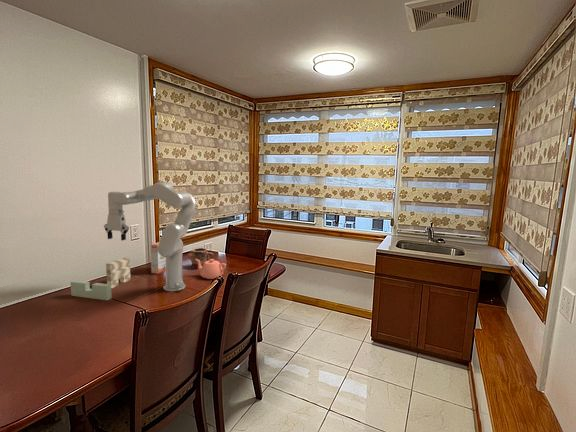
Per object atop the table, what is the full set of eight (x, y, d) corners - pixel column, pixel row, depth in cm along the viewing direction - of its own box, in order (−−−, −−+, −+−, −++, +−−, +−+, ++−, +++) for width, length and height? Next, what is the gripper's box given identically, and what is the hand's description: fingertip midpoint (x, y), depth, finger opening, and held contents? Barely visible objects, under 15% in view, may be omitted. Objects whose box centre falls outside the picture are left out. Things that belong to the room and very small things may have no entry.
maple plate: (126, 279, 199) (125, 257, 197) (130, 279, 198) (129, 257, 196) (107, 287, 183) (105, 264, 181) (111, 288, 183) (110, 264, 181)
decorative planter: (215, 265, 235) (215, 247, 233) (212, 270, 223) (212, 251, 221) (189, 264, 234) (189, 247, 232) (185, 269, 222) (184, 251, 220)
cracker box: (158, 274, 210) (157, 245, 208) (150, 273, 212) (150, 244, 209) (170, 268, 224) (169, 240, 221) (163, 267, 225) (162, 240, 222)
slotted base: (111, 298, 169) (110, 284, 168) (107, 300, 166) (106, 286, 165) (76, 293, 174) (75, 280, 173) (71, 295, 171) (70, 281, 170)
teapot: (190, 278, 203) (190, 261, 202) (200, 272, 218) (200, 255, 216) (222, 281, 200) (222, 263, 199) (229, 274, 215) (229, 257, 213)
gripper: (132, 212, 186) (133, 239, 189) (108, 210, 190) (109, 237, 192) (123, 213, 179) (124, 241, 182) (98, 211, 183) (100, 239, 185)
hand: (116, 239), depth 187 cm, fingers open, 9 cm apart
